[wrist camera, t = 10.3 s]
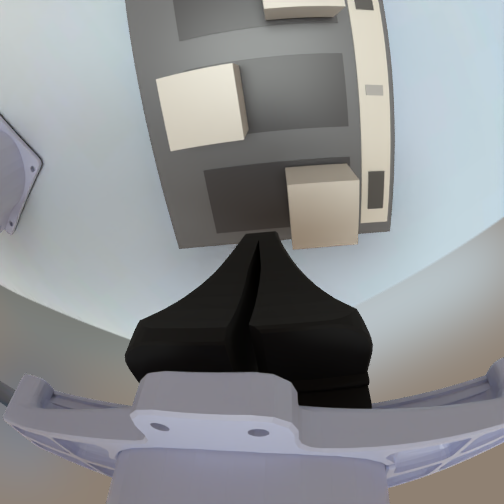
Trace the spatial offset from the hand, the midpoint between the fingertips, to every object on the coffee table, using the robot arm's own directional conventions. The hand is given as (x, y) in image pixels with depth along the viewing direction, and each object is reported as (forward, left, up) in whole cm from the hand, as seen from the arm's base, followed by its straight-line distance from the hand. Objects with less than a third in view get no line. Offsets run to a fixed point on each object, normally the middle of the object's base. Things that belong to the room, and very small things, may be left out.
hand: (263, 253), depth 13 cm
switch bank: (+4, +4, -8) cm, 10 cm away
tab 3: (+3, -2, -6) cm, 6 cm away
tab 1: (+2, +6, -6) cm, 9 cm away
